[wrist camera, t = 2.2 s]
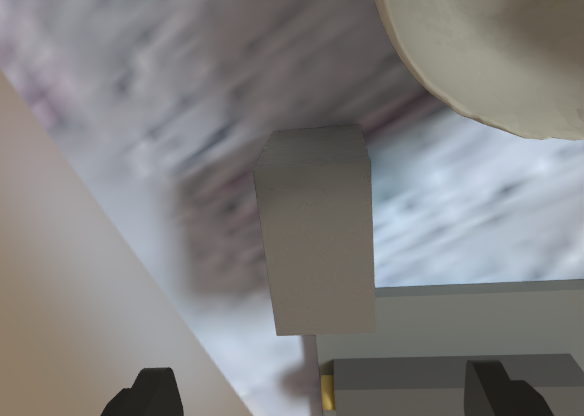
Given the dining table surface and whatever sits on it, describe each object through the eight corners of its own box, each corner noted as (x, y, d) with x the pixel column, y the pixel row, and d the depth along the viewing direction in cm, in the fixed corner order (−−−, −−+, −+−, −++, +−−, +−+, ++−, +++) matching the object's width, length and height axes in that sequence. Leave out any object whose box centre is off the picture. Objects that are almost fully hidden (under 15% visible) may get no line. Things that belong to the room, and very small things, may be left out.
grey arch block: (273, 131, 22) (252, 170, 16) (359, 124, 22) (370, 161, 16) (288, 262, 25) (276, 335, 20) (364, 259, 25) (376, 332, 19)
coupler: (312, 290, 26) (310, 327, 23) (591, 279, 24) (631, 317, 21) (326, 429, 31) (326, 476, 28) (561, 428, 29) (590, 479, 26)
